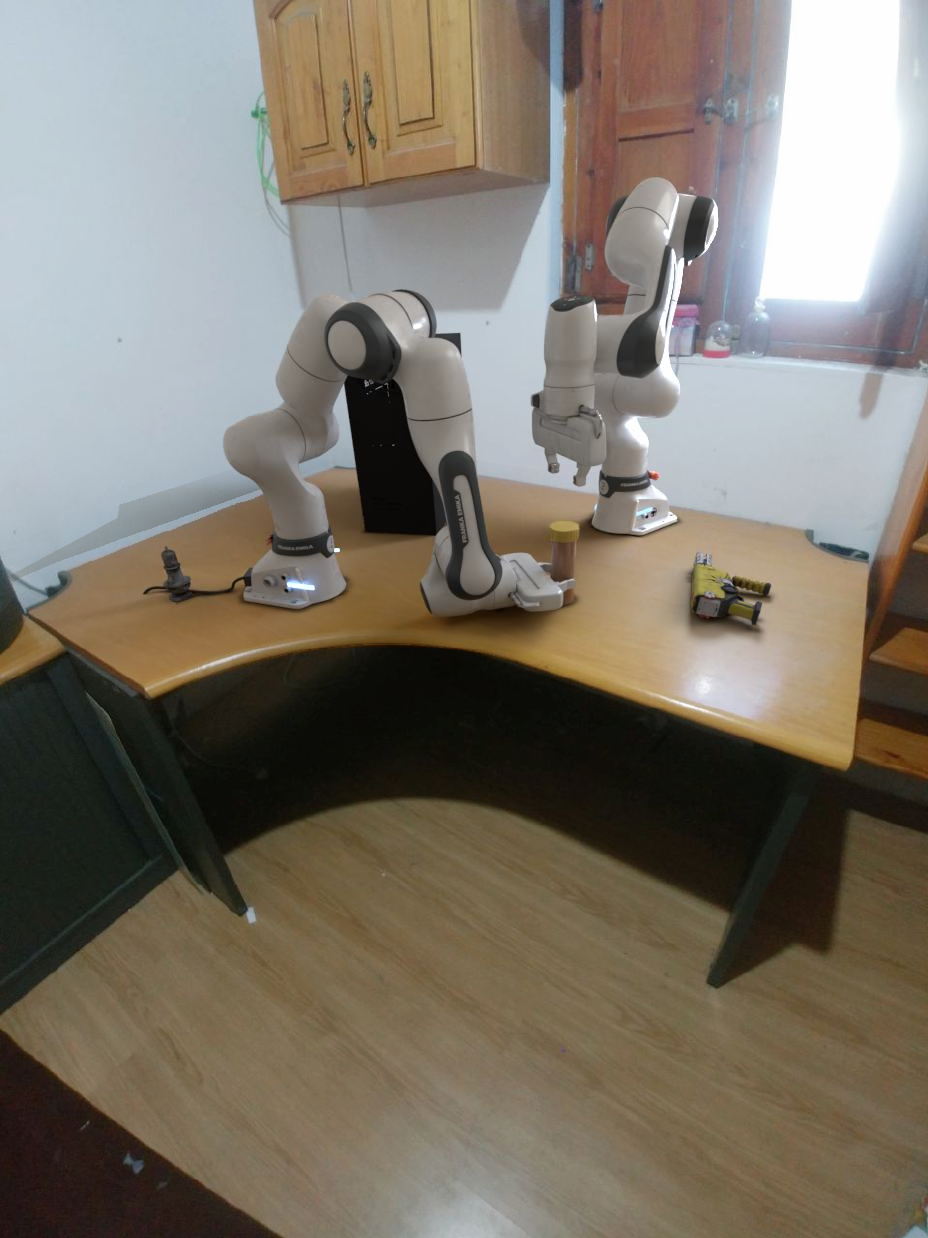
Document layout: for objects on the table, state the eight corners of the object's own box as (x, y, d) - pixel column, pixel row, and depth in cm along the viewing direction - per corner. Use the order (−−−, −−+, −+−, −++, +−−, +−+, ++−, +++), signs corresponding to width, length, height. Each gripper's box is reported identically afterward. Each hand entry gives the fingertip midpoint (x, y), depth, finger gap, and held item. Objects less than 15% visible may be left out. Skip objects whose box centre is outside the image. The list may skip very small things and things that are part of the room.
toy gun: (769, 561, 128) (696, 549, 132) (782, 610, 108) (695, 594, 112) (763, 581, 130) (691, 569, 134) (774, 633, 110) (689, 616, 114)
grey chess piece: (185, 602, 132) (169, 552, 126) (162, 601, 134) (144, 551, 128) (200, 590, 137) (185, 541, 131) (177, 588, 139) (162, 540, 133)
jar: (575, 595, 126) (578, 524, 119) (571, 606, 122) (574, 533, 115) (552, 592, 128) (554, 522, 120) (547, 603, 124) (549, 531, 116)
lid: (581, 532, 120) (581, 521, 119) (576, 544, 115) (576, 532, 114) (552, 530, 121) (552, 519, 120) (546, 541, 117) (546, 530, 116)
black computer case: (436, 534, 159) (422, 349, 137) (364, 531, 164) (339, 351, 141) (468, 489, 191) (460, 332, 168) (407, 487, 195) (391, 335, 173)
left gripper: (518, 594, 110) (589, 582, 112) (487, 551, 127) (548, 542, 130) (519, 624, 113) (587, 611, 115) (488, 578, 130) (548, 568, 133)
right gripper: (618, 408, 98) (612, 491, 105) (555, 391, 115) (553, 463, 122) (585, 413, 96) (581, 497, 103) (525, 394, 113) (526, 468, 120)
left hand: (566, 574), depth 123 cm, fingers open, 6 cm apart
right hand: (566, 478), depth 112 cm, fingers open, 8 cm apart
